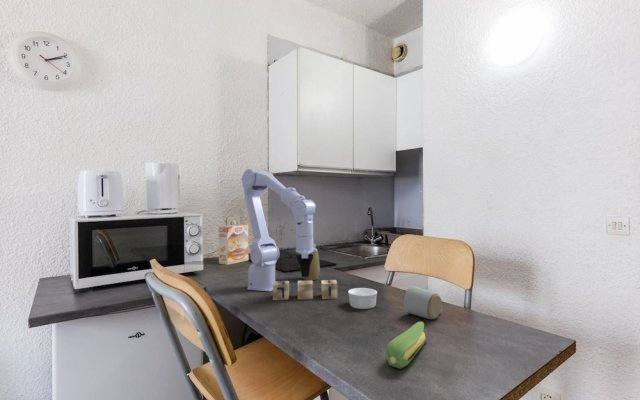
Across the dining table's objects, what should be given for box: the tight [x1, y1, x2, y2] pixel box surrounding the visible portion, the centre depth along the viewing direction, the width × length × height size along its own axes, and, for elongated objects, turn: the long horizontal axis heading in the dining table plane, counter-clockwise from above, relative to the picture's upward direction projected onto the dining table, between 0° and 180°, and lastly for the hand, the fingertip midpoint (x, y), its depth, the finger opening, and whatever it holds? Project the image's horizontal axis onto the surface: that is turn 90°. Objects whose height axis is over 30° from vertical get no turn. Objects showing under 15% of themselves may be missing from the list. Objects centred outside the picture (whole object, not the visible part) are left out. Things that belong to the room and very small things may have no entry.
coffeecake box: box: [218, 223, 249, 266], centre depth 177 cm, size 15×7×20 cm, turn 147°
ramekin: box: [347, 287, 378, 310], centre depth 103 cm, size 9×9×4 cm
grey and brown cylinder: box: [403, 285, 443, 320], centre depth 94 cm, size 11×8×8 cm
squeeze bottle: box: [299, 243, 321, 281], centre depth 137 cm, size 8×8×18 cm
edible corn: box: [385, 321, 427, 370], centre depth 71 cm, size 5×20×5 cm
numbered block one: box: [320, 279, 338, 300], centre depth 113 cm, size 5×5×5 cm
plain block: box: [297, 280, 314, 300], centre depth 112 cm, size 5×5×5 cm
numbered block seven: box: [272, 280, 290, 301], centre depth 112 cm, size 5×5×5 cm
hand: (305, 276), depth 112 cm, fingers closed
